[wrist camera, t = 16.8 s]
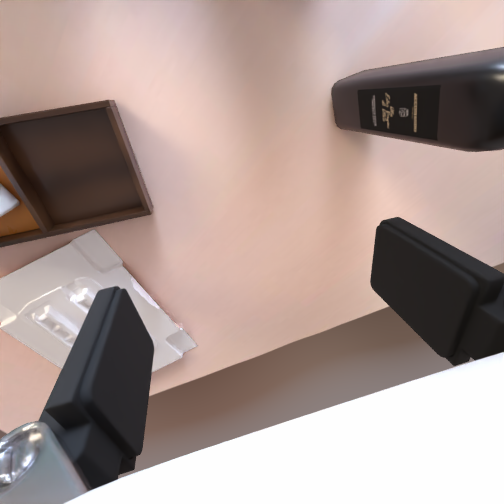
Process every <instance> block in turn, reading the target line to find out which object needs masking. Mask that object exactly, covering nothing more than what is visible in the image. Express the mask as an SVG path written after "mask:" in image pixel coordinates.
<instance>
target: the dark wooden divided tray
mask: <svg viewBox="0 0 504 504" xmlns="http://www.w3.org/2000/svg"><path fill="white" fill-rule="evenodd" d="M0 183H1V184H2V185H3V186H4V187H5V188H6V189H7V190H8V191H9V192H10V193H11V194H12V195H13V196H14V197H15V198H16V199H18V200H19V202H20V205H19V206H17V207H16V208H14V209H12V210H11V211H9V212H8V213H6V214H4V215H3V216H1V217H0V247H4V246H9V245H13V244H18V243H23V242H27V241H32V240H36V239H41V238H46V237H50V236H55V235H59V234H64V233H68V232H73V231H78V230H82V229H87V228H91V227H96V226H101V225H105V224H110V223H114V222H119V221H123V220H128V219H133V218H137V217H142V216H146V215H151V213H152V210H153V205H152V202H151V199H150V197H149V194H148V191H147V188H146V186H145V183H144V180H143V177H142V175H141V172H140V169H139V166H138V164H137V161H136V158H135V156H134V153H133V150H132V147H131V145H130V142H129V139H128V136H127V134H126V131H125V128H124V125H123V123H122V120H121V117H120V115H119V112H118V109H117V106H116V104H115V101H114V100H105V101H99V102H93V103H87V104H81V105H75V106H69V107H63V108H57V109H51V110H45V111H39V112H33V113H27V114H21V115H15V116H9V117H3V118H0Z"/></svg>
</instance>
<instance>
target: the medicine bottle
mask: <svg viewBox="0 0 504 504" xmlns="http://www.w3.org/2000/svg"><path fill="white" fill-rule="evenodd" d="M19 205H20V202H19V200H18V199H16V198H15V197H14V196H13V195H12V194H11V193H10V192H9V191H8V190H7V189H6V188H5V187H4V186H3V185H2V184H1V183H0V217H1V216H3V215H4V214H6V213H8V212H9V211H11V210H12V209H14V208H16V207H17V206H19Z"/></svg>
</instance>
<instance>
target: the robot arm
mask: <svg viewBox="0 0 504 504" xmlns="http://www.w3.org/2000/svg"><path fill="white" fill-rule="evenodd" d="M370 283H371V286H372V288H373V290H374V291H375V292H376V293H377V294H378V295H379V296H380V297H381V298H382V299H383V300H384V301H385V302H386V303H387V304H388V305H389V306H390V307H391V308H392V309H393V310H394V311H395V312H396V313H397V314H398V315H399V316H400V317H401V318H402V319H403V320H404V321H405V322H406V323H407V324H408V325H409V326H410V327H411V328H412V329H413V330H414V331H415V332H416V333H417V334H418V335H419V336H420V337H421V338H422V339H423V340H424V341H425V342H426V343H427V344H428V345H429V346H430V347H431V348H432V349H433V350H434V351H435V352H436V353H437V354H438V355H440V356H441V357H445V358H446V359H447V360H448V361H450V363H451V364H452V365H454V366H456V365H459V364H462V363H465V362H468V361H469V359H470V357H471V358H473V359H474V360H475V361H473V362H470V363H467V364H464V365H461V366H457V367H454V368H451V369H448V370H445V371H442V372H438V373H435V374H432V375H429V376H426V377H423V378H420V379H416V380H414V381H410V382H407V383H404V384H401V385H398V386H395V387H392V388H388V389H386V390H382V391H379V392H376V393H373V394H370V395H367V396H364V397H361V398H358V399H355V400H352V401H349V402H346V403H342V404H339V405H336V406H333V407H330V408H327V409H324V410H321V411H318V412H315V413H312V414H309V415H305V416H302V417H299V418H297V419H293V420H290V421H287V422H284V423H281V424H278V425H275V426H272V427H269V428H266V429H263V430H260V431H257V432H254V433H251V434H248V435H245V436H242V437H239V438H236V439H233V440H230V441H227V442H224V443H221V444H218V445H215V446H212V447H209V448H206V449H203V450H200V451H196V452H194V453H191V454H188V455H185V456H182V457H179V458H176V459H174V460H171V461H168V462H165V463H162V464H159V465H156V466H154V467H151V468H148V469H145V470H142V471H139V472H137V473H134V474H131V475H128V476H125V477H123V478H120V479H118V475H120V474H123V473H126V472H129V471H132V470H134V469H135V461H136V456H138V455H140V454H141V452H142V448H143V440H144V431H145V423H146V415H147V407H148V406H147V405H148V398H149V390H150V382H151V374H152V365H153V357H154V344H153V341H152V338H151V337H150V335H149V333H148V331H147V329H146V327H145V325H144V323H143V321H142V319H141V317H140V315H139V313H138V311H137V309H136V307H135V305H134V303H133V301H132V300H131V298H130V296H129V294H128V292H127V290H126V289H124V288H123V289H120V287H119V286H113V287H109V288H105V289H101V290H98V292H97V294H96V296H95V298H94V300H93V303H92V305H91V307H90V309H89V311H88V314H87V316H86V318H85V320H84V322H83V325H82V327H81V329H80V331H79V333H78V336H77V338H76V340H75V342H74V344H73V346H72V348H71V351H70V353H69V355H68V357H67V359H66V362H65V364H64V366H63V368H62V370H61V373H60V375H59V377H58V379H57V381H56V384H55V386H54V388H53V390H52V392H51V395H50V397H49V399H48V401H47V403H46V406H45V408H44V410H43V412H42V414H41V417H40V419H39V421H35V422H30V423H26V424H24V425H22V426H20V427H18V428H16V429H14V430H13V431H11V432H10V433H8V434H7V435H5V436H4V437H3V438H2V439H0V504H504V274H503V273H501V272H499V271H498V270H496V269H494V268H492V267H490V266H489V265H487V264H485V263H483V262H481V261H479V260H478V259H476V258H474V257H472V256H470V255H468V254H466V253H465V252H463V251H461V250H459V249H457V248H455V247H453V246H452V245H450V244H448V243H446V242H444V241H442V240H441V239H439V238H437V237H435V236H433V235H431V234H429V233H428V232H426V231H424V230H422V229H420V228H418V227H416V226H415V225H413V224H411V223H409V222H407V221H405V220H404V219H402V218H399V217H395V218H391V219H387V220H383V221H382V222H381V223H380V225H379V226H378V227H377V229H376V236H375V245H374V254H373V263H372V271H371V280H370Z"/></svg>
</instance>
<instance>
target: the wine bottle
mask: <svg viewBox="0 0 504 504" xmlns="http://www.w3.org/2000/svg"><path fill="white" fill-rule="evenodd" d="M332 101H333V108H334V115H335V123H336V125H337V127H339V128H340V129H345V130H351V131H356V132H362V133H367V134H373V135H378V136H384V137H390V138H395V139H401V140H406V141H412V142H417V143H423V144H428V145H434V146H439V147H445V148H451V149H456V150H462V151H467V152H479V151H494V150H502V149H504V47H501V48H495V49H489V50H483V51H477V52H471V53H465V54H459V55H453V56H447V57H441V58H435V59H429V60H423V61H417V62H411V63H405V64H399V65H393V66H387V67H381V68H375V69H369V70H364V71H361V72H359V73H356V74H354V75H351V76H349V77H346V78H344V79H341V80H339V81H337V82H336V83H335V84H334V86H333V88H332Z"/></svg>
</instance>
